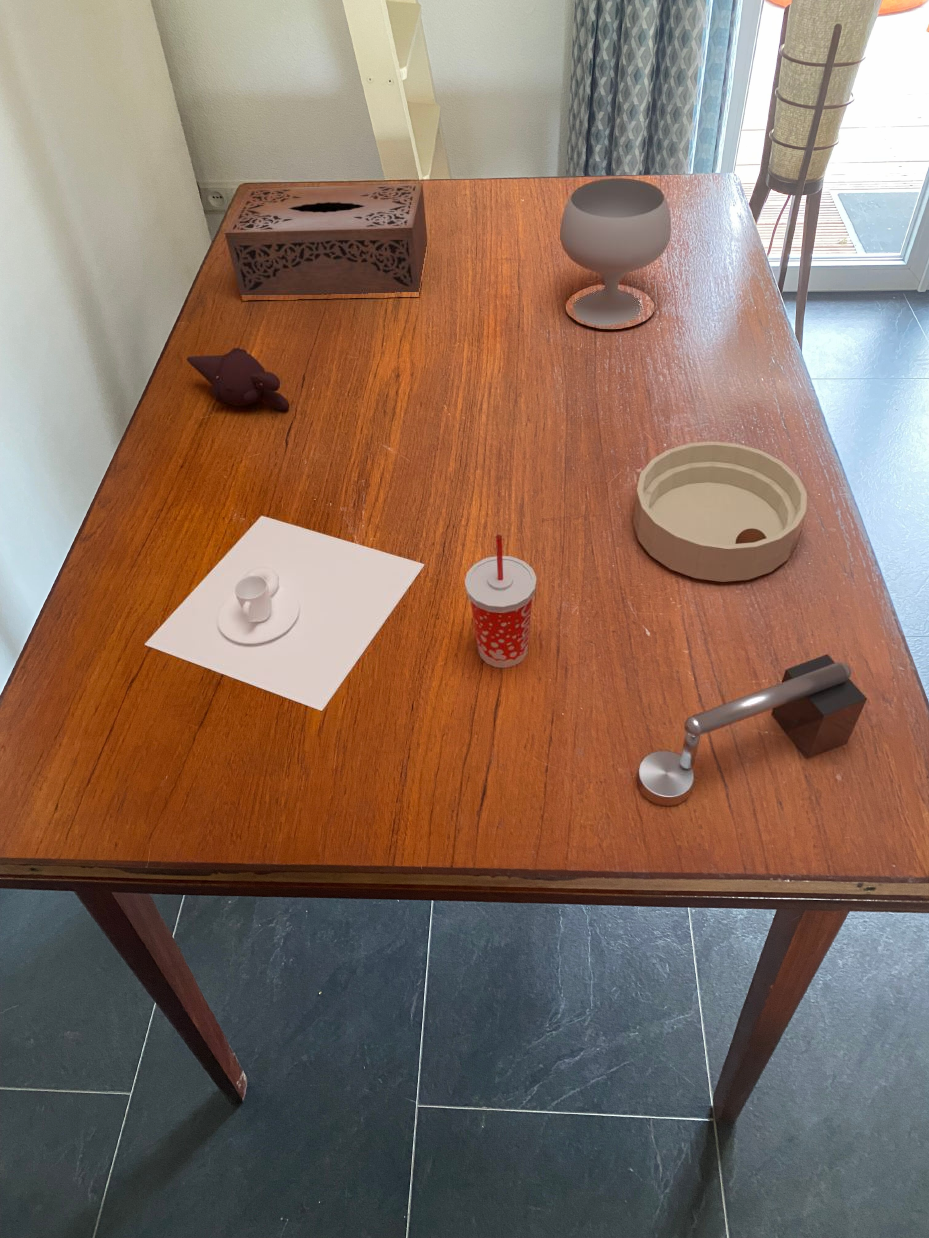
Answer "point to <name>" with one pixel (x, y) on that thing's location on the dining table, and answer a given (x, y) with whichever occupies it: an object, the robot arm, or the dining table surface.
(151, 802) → the dining table surface
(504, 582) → the beverage cup
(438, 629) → the dining table surface
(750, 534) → the meatball
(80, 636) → the dining table surface
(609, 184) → the chalice
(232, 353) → the dark brown figurine
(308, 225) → the tissue box cover
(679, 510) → the bowl
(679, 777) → the bent silver rod
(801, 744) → the dark brown cube
